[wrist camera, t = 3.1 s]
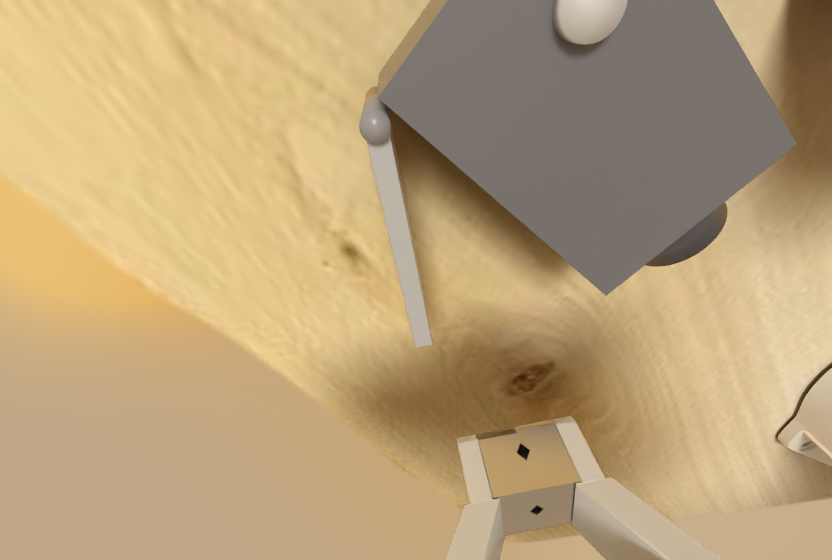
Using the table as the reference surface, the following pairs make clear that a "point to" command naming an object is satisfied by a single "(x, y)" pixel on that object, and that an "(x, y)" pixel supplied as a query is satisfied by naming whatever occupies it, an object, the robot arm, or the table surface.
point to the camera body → (592, 120)
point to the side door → (395, 211)
